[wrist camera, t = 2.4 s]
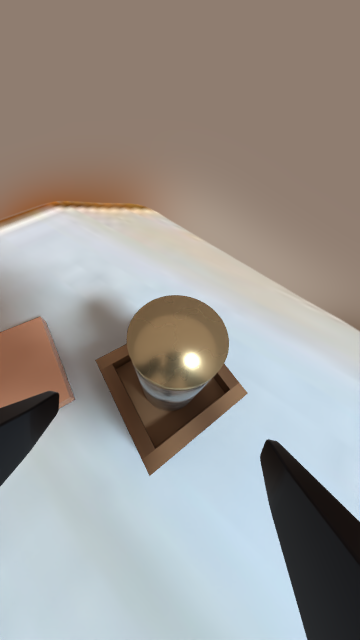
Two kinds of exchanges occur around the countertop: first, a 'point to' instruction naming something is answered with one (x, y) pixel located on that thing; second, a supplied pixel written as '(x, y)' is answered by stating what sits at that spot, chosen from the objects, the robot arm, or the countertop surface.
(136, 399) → the socket block
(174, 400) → the silver and gold cylinder
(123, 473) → the countertop surface
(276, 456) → the robot arm
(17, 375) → the terracotta tile
